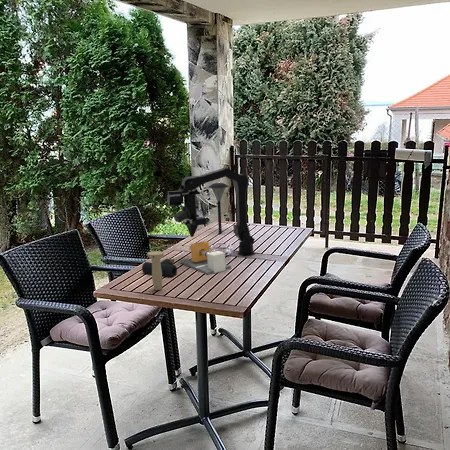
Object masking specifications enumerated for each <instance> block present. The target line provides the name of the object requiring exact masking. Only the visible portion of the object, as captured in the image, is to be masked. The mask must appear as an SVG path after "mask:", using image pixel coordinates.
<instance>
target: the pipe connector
mask: <svg viewBox="0 0 450 450" xmlns="http://www.w3.org/2000/svg"><path fill="white" fill-rule="evenodd" d="M160 262H161V270H162V275H163V276H164V277H170V278H173V277H175V276H177V273H178V267H177V266H176V265H175V264H174V263H175V259H174V258H173V259H172V258H164V259H163V260H162V261H160ZM141 271H142V273H143V274H147V273H148V274H149V275H152V262H151V261H150V262H148V261H145V262H143V264H142V267H141ZM163 276H162V277H163Z"/></svg>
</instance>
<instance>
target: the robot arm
mask: <svg viewBox="0 0 450 450" xmlns="http://www.w3.org/2000/svg"><path fill="white" fill-rule="evenodd" d="M223 178H227V179H229V180H231V181H232V185H233V187H234V188H233V189H234V191H235V193H236V194H235V195H236V196H235V198H236V202H235V203H236V224H233V225H232V226H233V227H232V228H233V234H234V235H235V237H236V238H237V239H238V241H239V242H238V243H239V245H238V252H237V254H238V255H241V256H243V257H248V256H250V255H255V254H256V252H254V244H255V240H256V238H254V237H253V236H252V235H251V232H250V227H249V225H248V222H247V199H246V196H247V195H246V194H247V190H248V186H249V178H248V176H247V175H245V174H242V173H237V172H235V171H234V170H232V169H230V168H229V167H226V166H225V167H222V168H220V169H216V170H213V171H209V172H208V173H204V174H201V175H192V176H191V175H190V176H185V177H184V178H182V181H181V185H180V187H179V188H178V190H174V191H172V190H168V191H167V197H166V200H167V201H166V202H167V205H168V207H175V206H181V205H182V204H183V206H182V207H181V210H179V211H177V212H176V213H174V214H173V215H172V216H173V218H174V221H175V222H177V223H182V224H184V225H185V226H186V229H187V231H188V233H189V236H190V237H191V238H193V237H194V236H195V234H196V231H197V229H198V227H199V226H202V225H207V224H208V219H207V218H206V217H203V216H199V215H200V214H198V213H197V212H198V210H197V209H199V205H197V195H200V194H201V192H200V191H199V190H198V188H199V187H201V186H202V185H204V184H206V183H210V182H213V181H217V180H220V179H223Z"/></svg>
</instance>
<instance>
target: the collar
mask: <svg viewBox="0 0 450 450" xmlns="http://www.w3.org/2000/svg"><path fill="white" fill-rule="evenodd" d="M209 244H210V243H209V241H206V240H204V241H199V242H194V243H191V244H190V246H191V250H190V256H191V258H190V259H192V261H193V262H198V261H202V260H206V259H208V257H206V256H205V255H202V254H199V250H200V249H201V250H204V251H206V252H209V253H210V245H209Z"/></svg>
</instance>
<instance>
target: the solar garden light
mask: <svg viewBox="0 0 450 450" xmlns="http://www.w3.org/2000/svg"><path fill="white" fill-rule="evenodd" d="M207 187H208V189H211V191H212V193H213V195H214V196H215V198H216V200H217V220H218V221H217V223H218V234H219V235H222V233H223V231H222V230H223V229H222V207H221V206H222V205H221V201H222V198H223V196H224V192H225V190H226V188H229V187H230V186H229V185H227V184H225V183H223V182H215V183H212V184H210V185H209V186H207Z"/></svg>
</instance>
